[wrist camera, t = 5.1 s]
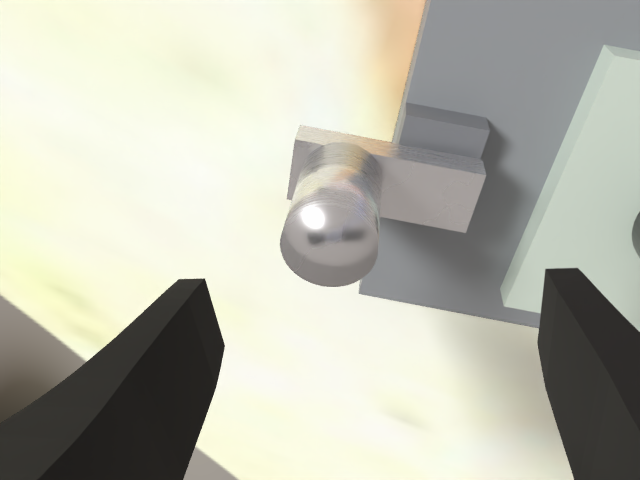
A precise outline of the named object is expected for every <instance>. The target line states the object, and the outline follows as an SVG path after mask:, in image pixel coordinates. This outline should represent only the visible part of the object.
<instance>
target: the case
mask: <svg viewBox="0 0 640 480" xmlns="http://www.w3.org/2000/svg"><path fill="white" fill-rule="evenodd" d="M604 45H608V46H614V47H619V48H624V49H630V50H635V51H640V0H426V3H425V7H424V11H423V15H422V20H421V24H420V28H419V32H418V36H417V40H416V44H415V49H414V53H413V57H412V61H411V65H410V69H409V73H408V77H407V82H406V86H405V90H404V94H403V98H402V102H401V106H400V111H399V115H398V119H397V123H396V127H395V131H394V135H393V140H392V143H398V144H403V145H408V146H413V147H419V148H424V149H429V150H435V151H440V152H445V153H451V154H456V155H461V156H466V157H472V158H477V159H482V160H483V164H484V168H485V172H486V178H485V181H484V183H483V186H482V189H481V192H480V195H479V197H478V200H477V203H476V206H475V209H474V211H473V214H472V217H471V220H470V223H469V225H468V228H467V231H466V233H463V232H458V231H453V230H447V229H442V228H437V227H432V226H426V225H421V224H416V223H410V222H405V221H400V220H395V219H389V218H384V217H380V227H379V244H378V255H377V259H376V262H375V264H374V266H373V268H372V269H371V270H370V272H369V273H368V274H367V275H366V276H364V277H363V278H362V279H360V285H359V294H363V295H368V296H373V297H379V298H384V299H389V300H394V301H399V302H405V303H410V304H415V305H420V306H426V307H431V308H436V309H441V310H446V311H452V312H457V313H462V314H467V315H473V316H478V317H483V318H488V319H493V320H499V321H504V322H509V323H514V324H520V325H525V326H530V327H535V328H539V325H540V315H541V313H536V312H531V311H525V310H520V309H515V308H510V307H504V305H503V300H502V296H501V291H500V287H501V285H502V283H503V280H504V278H505V276H506V273H507V271H508V269H509V266H510V264H511V262H512V259H513V257H514V255H515V252H516V250H517V248H518V245H519V243H520V240H521V238H522V236H523V233H524V231H525V229H526V226H527V224H528V222H529V219H530V217H531V215H532V212H533V210H534V208H535V205H536V203H537V201H538V198H539V196H540V194H541V191H542V189H543V186H544V184H545V182H546V179H547V177H548V175H549V172H550V170H551V168H552V165H553V163H554V161H555V158H556V156H557V154H558V151H559V149H560V147H561V144H562V142H563V140H564V137H565V135H566V133H567V130H568V128H569V125H570V123H571V121H572V118H573V116H574V114H575V111H576V109H577V107H578V104H579V102H580V100H581V97H582V95H583V93H584V90H585V88H586V86H587V83H588V81H589V79H590V76H591V74H592V71H593V69H594V67H595V64H596V62H597V60H598V57H599V55H600V53H601V50H602V48H603V46H604Z"/></svg>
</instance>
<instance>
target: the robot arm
mask: <svg viewBox="0 0 640 480" xmlns="http://www.w3.org/2000/svg"><path fill="white" fill-rule="evenodd" d="M224 347H225V345H224V342H223V338H222V335H221V332H220V328H219V325H218V321H217V318H216V315H215V311H214V308H213V305H212V301H211V298H210V294H209V291H208V288H207V284H206V281H205V279H179V280H178V281H177V282H175V283H174V284H173V285H172V286H171V287H170V288H168V289H167V290H166V291H165V292H164V293H163V294H162V295H161V296H160V297H159V298H158V299H157V300H156V301H154V302H153V303H152V304H151V305H150V306H149V307H148V308H147V309H146V310H145V311H144V312H143V313H142V314H141V315H140V316H138V317H137V318H136V319H135V320H134V321H133V322H132V323H131V324H130V325H129V326H128V327H126V328H125V329H124V330H123V331H122V332H121V333H120V334H119V335H118V336H117V337H116V338H114V339H113V340H112V341H111V342H110V343H109V344H107V345H106V346H105V347H104V348H103V349H101V350H100V351H99V352H98V353H97V354H96V355H94V356H93V357H92V358H91V359H90V360H88V361H87V362H86V363H85V364H84V365H82V366H81V367H80V368H79V369H78V370H77V371H75V372H74V373H73V374H71V375H70V376H69V377H67V378H66V379H65V380H63V381H62V382H61V383H60V384H58V385H57V386H55V387H54V388H53V389H51V390H50V391H48V392H47V393H46V394H44V395H43V396H41V397H40V398H39V399H37V400H36V401H34V402H33V403H31V404H30V405H28V406H27V407H25V408H24V409H22V410H21V411H19V412H17V413H16V414H14V415H13V416H11V417H10V418H8V419H6V420H5V421H3V422H1V423H0V480H183V478H184V475H185V472H186V470H187V467H188V464H189V461H190V458H191V456H192V453H193V450H194V448H195V445H196V442H197V439H198V437H199V434H200V431H201V428H202V426H203V423H204V420H205V417H206V415H207V412H208V409H209V406H210V403H211V400H212V398H213V395H214V392H215V389H216V385H217V381H218V377H219V372H220V368H221V363H222V358H223V353H224ZM538 349H539V355H540V360H541V366H542V372H543V377H544V382H545V387H546V391H547V394H548V397H549V401H550V404H551V407H552V410H553V414H554V417H555V420H556V423H557V426H558V429H559V433H560V436H561V439H562V442H563V445H564V448H565V451H566V455H567V458H568V461H569V464H570V467H571V470H572V473H573V477H574V480H640V332H639V331H638V330H637V329H636V328H635V327H634V326H633V325H632V324H631V323H630V322H629V321H628V320H627V319H626V318H625V317H624V316H623V315H622V314H621V313H620V312H619V311H618V310H617V309H616V308H615V307H614V306H613V305H612V303H611V302H610V301H609V300H608V299H607V298H606V297H605V296H604V295H603V294H602V293H601V292H600V291H599V290H598V289H597V288H596V286H595V285H594V284H593V283H592V282H591V281H590V280H589V279H588V278H587V277H586V276H585V275H584V274H583V272H581V271H580V270H579V269H578V268H554V269H545V277H544V287H543V296H542V306H541V315H540V325H539V334H538Z"/></svg>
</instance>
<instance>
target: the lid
mask: <svg viewBox="0 0 640 480" xmlns="http://www.w3.org/2000/svg"><path fill="white" fill-rule="evenodd" d="M554 268H578V269H579V270H580V271H581V272H583V274H584V275H585V276H586V277H587V278H588V279H589V280H590V281H591V282H592V283H593V284H594V285H595V286H596V288H597V289H598V290H599V291H600V292H601V293H602V294H603V295H604V296H605V297H606V298H607V299H608V300H609V301H610V302H611V303H612V305H613V306H614V307H615V308H616V309H617V310H618V311H619V312H620V313H621V314H622V315H623V316H624V317H625V318H626V319H627V320H628V321H629V322H630V323H631V324H632V325H633V326H634V327H635V328H636V329H637V330H638V331H639V332H640V51H635V50H630V49H624V48H619V47H614V46H608V45H604V46H603V48H602V50H601V53H600V55H599V57H598V60H597V62H596V64H595V67H594V69H593V71H592V74H591V76H590V79H589V81H588V83H587V86H586V88H585V90H584V93H583V95H582V97H581V100H580V102H579V104H578V107H577V109H576V111H575V114H574V116H573V118H572V121H571V123H570V125H569V128H568V130H567V133H566V135H565V137H564V140H563V142H562V144H561V147H560V149H559V151H558V154H557V156H556V158H555V161H554V163H553V165H552V168H551V170H550V172H549V175H548V177H547V179H546V182H545V184H544V186H543V189H542V191H541V194H540V196H539V198H538V201H537V203H536V205H535V208H534V210H533V212H532V215H531V217H530V219H529V222H528V224H527V226H526V229H525V231H524V233H523V236H522V238H521V240H520V243H519V245H518V248H517V250H516V252H515V255H514V257H513V259H512V262H511V264H510V266H509V269H508V271H507V273H506V276H505V278H504V280H503V283H502V285H501V287H500V291H501V296H502V300H503V305H504V307H510V308H515V309H520V310H525V311H531V312H536V313H541V306H542V296H543V287H544V277H545V269H554Z"/></svg>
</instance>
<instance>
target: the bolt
mask: <svg viewBox="0 0 640 480" xmlns="http://www.w3.org/2000/svg"><path fill="white" fill-rule="evenodd" d="M485 178H486V172H485V168H484V164H483V160H482V159H477V158H472V157H466V156H461V155H456V154H451V153H445V152H440V151H435V150H429V149H424V148H419V147H413V146H408V145H403V144H398V143H392V142H387V141H382V140H376V139H371V138H366V137H360V136H355V135H350V134H345V133H339V132H334V131H329V130H323V129H318V128H313V127H308V126H302V125H300V127H299V130H298V132H297V135H296V138H295V143H294V150H293V158H292V165H291V172H290V180H289V187H288V194H287V199H289V200H292V202H291V205H290V208H289V211H288V215H287V218H286V221H285V225H284V228H283V231H282V235H281V239H280V247H281V252H282V256H283V258H284V260H285V262H286V264H287V265H288V266H289V268H290V269H291V270H292V271H293V272H294V273H295V274H297V275H298V276H299V277H301V278H302V279H304V280H306V281H308V282H310V283H313V284H316V285H320V286H327V287H338V286H345V285H349V284H352V283H354V282H356V281H358V280H360V279H362V278H363V277H364V276H366V275H367V274H368V273H369V272H370V270H371V269H372V268H373V266H374V264H375V262H376V259H377V255H378V244H379V227H380V217H384V218H389V219H395V220H400V221H405V222H410V223H416V224H421V225H426V226H432V227H437V228H442V229H447V230H453V231H458V232H463V233H466V231H467V228H468V225H469V223H470V220H471V217H472V214H473V211H474V209H475V206H476V203H477V200H478V197H479V195H480V192H481V189H482V186H483V183H484V181H485Z"/></svg>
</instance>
